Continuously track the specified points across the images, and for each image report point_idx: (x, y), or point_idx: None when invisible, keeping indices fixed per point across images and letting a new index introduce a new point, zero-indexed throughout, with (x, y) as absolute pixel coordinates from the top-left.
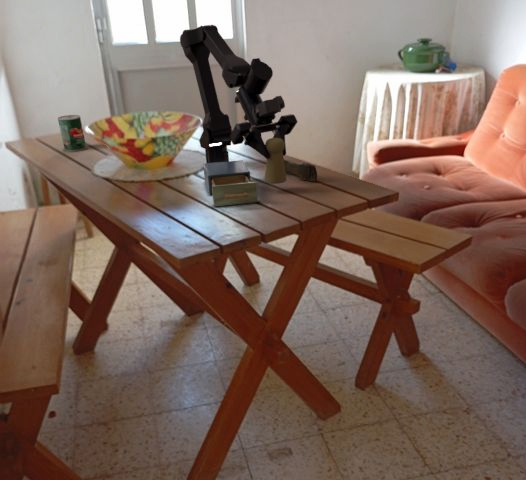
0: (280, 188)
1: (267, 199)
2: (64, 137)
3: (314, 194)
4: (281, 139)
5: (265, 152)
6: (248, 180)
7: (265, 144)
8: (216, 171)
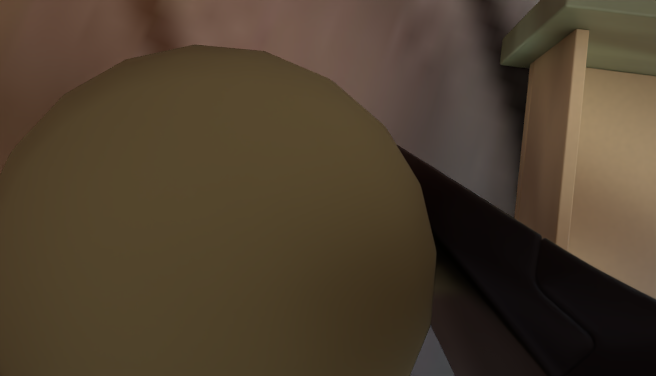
0: None
1: (408, 88)
2: None
3: (53, 48)
4: (13, 206)
5: (445, 182)
6: (563, 223)
7: (432, 302)
8: None
